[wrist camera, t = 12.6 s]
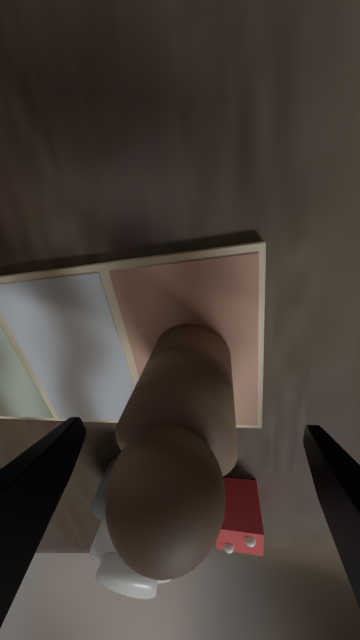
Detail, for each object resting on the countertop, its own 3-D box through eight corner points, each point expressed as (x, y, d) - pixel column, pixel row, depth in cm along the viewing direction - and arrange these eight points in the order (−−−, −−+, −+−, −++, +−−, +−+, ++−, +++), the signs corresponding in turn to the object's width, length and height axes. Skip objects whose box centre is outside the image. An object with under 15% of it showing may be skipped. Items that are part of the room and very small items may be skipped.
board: (-11, 412, 20) (-19, 418, 19) (-102, 289, 15) (-116, 292, 14) (260, 420, 15) (262, 429, 14) (263, 241, 10) (266, 242, 9)
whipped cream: (116, 536, 20) (98, 593, 17) (94, 499, 17) (68, 559, 14) (183, 546, 19) (176, 610, 16) (171, 508, 16) (160, 577, 13)
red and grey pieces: (120, 501, 24) (104, 550, 20) (95, 449, 20) (69, 498, 16) (255, 517, 21) (263, 577, 17) (256, 459, 17) (266, 523, 13)
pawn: (162, 385, 14) (94, 589, 6) (147, 325, 12) (27, 514, 5) (232, 386, 13) (249, 626, 6) (229, 321, 11) (247, 551, 4)
